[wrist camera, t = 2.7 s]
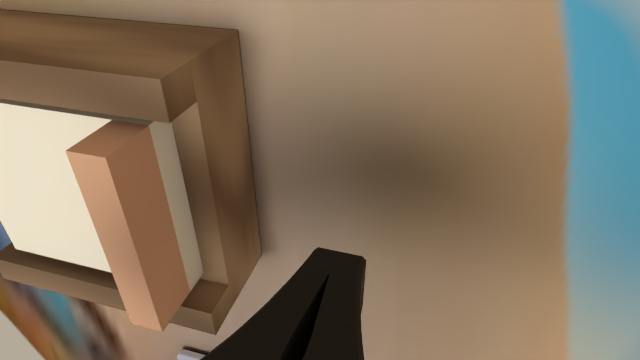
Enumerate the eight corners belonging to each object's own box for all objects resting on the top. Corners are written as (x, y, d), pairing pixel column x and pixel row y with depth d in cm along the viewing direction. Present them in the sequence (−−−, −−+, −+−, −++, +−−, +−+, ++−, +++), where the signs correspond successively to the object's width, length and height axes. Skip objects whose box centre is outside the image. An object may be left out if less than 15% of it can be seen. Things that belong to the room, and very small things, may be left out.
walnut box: (261, 255, 20) (215, 334, 16) (77, 215, 22) (3, 278, 19) (237, 29, 14) (159, 79, 11) (-6, 9, 17) (-134, 44, 13)
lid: (203, 272, 17) (162, 332, 15) (35, 233, 19) (-25, 280, 17) (168, 109, 13) (105, 158, 11) (-39, 81, 15) (-129, 117, 13)
